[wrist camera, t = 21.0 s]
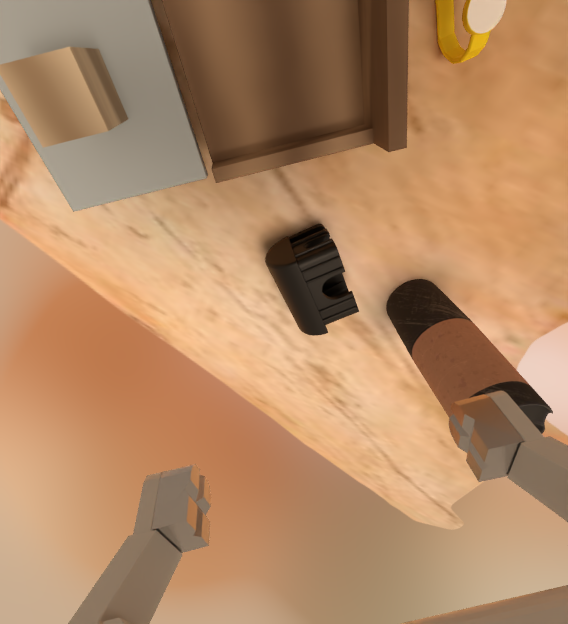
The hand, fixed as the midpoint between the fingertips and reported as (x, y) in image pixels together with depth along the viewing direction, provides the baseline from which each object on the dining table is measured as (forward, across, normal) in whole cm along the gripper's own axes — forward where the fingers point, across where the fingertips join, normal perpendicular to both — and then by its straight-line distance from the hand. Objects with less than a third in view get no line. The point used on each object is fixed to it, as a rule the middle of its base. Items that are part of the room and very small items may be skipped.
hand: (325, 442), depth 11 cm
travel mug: (+29, -16, +20) cm, 39 cm away
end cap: (+29, -3, +11) cm, 32 cm away
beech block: (+23, +10, -10) cm, 27 cm away
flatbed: (+29, -4, -10) cm, 31 cm away
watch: (+29, -18, -9) cm, 36 cm away
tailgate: (+23, +4, -10) cm, 25 cm away
